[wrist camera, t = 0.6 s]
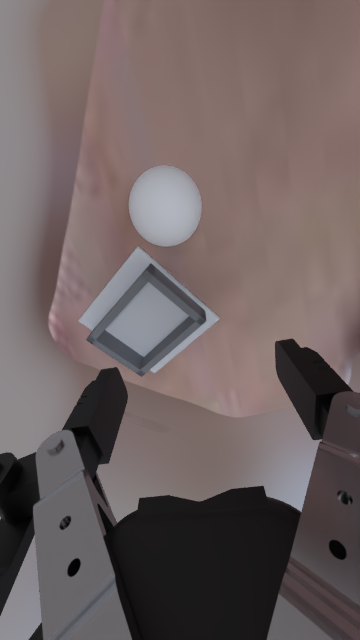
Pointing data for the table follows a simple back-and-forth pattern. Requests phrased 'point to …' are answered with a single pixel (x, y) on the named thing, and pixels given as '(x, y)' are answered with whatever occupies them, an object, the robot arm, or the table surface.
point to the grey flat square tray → (145, 315)
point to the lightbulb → (165, 205)
